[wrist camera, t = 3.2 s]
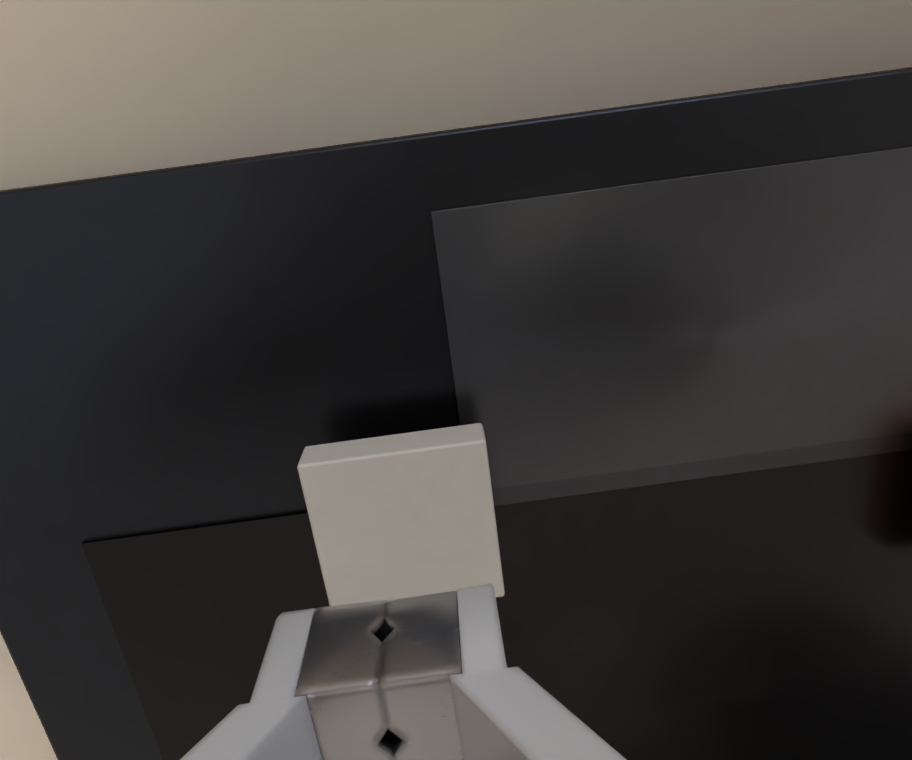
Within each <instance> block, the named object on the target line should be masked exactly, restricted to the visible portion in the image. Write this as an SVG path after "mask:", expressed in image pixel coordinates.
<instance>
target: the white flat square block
mask: <svg viewBox="0 0 912 760" xmlns="http://www.w3.org/2000/svg"><path fill="white" fill-rule="evenodd" d="M297 469H298V473H299V477H300V482H301V486H302V490H303V494H304V499H305V503H306V507H307V511H308V516H309V520H310V524H311V528H312V533H313V537H314V541H315V545H316V550H317V554H318V558H319V563H320V567H321V571H322V575H323V580H324V584H325V588H326V592H327V597H328V601H329V605H330V606H337V605H346V604H354V603H363V602H372V601H381V600H393V599H400V598H408V597H415V596H422V595H429V594H436V593H443V592H450V591H457V589H461V588H467V587H473V586H479V585H485V584H492V585H493V587H494V590H495V597H502V596H504V594H505V591H504V583H503V575H502V567H501V559H500V551H499V542H498V534H497V526H496V518H495V510H494V502H493V494H492V486H491V477H490V469H489V461H488V453H487V445H486V439H485V434H484V429H483V425H482V424H481V423H475V424H468V425H460V426H453V427H446V428H438V429H431V430H424V431H416V432H409V433H401V434H394V435H387V436H379V437H372V438H364V439H357V440H350V441H342V442H335V443H328V444H320V445H313V446H307V447H305V448H304V451H303V453H302V456H301V458H300V461H299V463H298V466H297Z"/></svg>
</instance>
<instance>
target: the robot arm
mask: <svg viewBox="0 0 912 760" xmlns="http://www.w3.org/2000/svg"><path fill="white" fill-rule="evenodd" d="M180 760H626V759H625V758H624V757H623V756H622V755H621V754H619V753H618V752H617V751H616V750H615V749H614V748H612V747H611V746H610V745H609V744H608V743H607V742H605V741H604V740H603V739H602V738H601V737H600V736H598V735H597V734H596V733H595V732H594V731H593V730H591V729H590V728H589V727H588V726H587V725H586V724H584V723H583V722H582V721H581V720H580V719H579V718H577V717H576V716H575V715H574V714H573V713H572V712H570V711H569V710H568V709H567V708H566V707H565V706H563V705H562V704H561V703H560V702H559V701H558V700H556V699H555V698H554V697H553V696H552V695H551V694H549V693H548V692H547V691H546V690H545V689H544V688H542V687H541V686H540V685H539V684H538V683H537V682H535V681H534V680H533V679H532V678H531V677H530V676H528V675H527V674H526V673H525V672H524V671H523V670H521V669H520V668H519V667H510V668H507V665H506V659H505V652H504V646H503V640H502V634H501V628H500V621H499V615H498V609H497V603H496V597H495V590H494V587H493V585H492V584H485V585H479V586H473V587H467V588H461V589H457V591H450V592H443V593H436V594H429V595H422V596H415V597H408V598H400V599H393V600H381V601H372V602H363V603H354V604H346V605H337V606H328V607H319V608H317V609H315V608H312V609H305V610H297V611H289V612H282V613H281V614H280V615H279V616H278V617H277V619H276V621H275V624H274V627H273V630H272V633H271V636H270V640H269V643H268V646H267V649H266V652H265V655H264V659H263V662H262V665H261V668H260V671H259V674H258V678H257V681H256V684H255V687H254V690H253V693H252V696H251V700H250V703H246V704H240V705H237V706H236V707H235V708H234V709H233V710H232V711H231V712H230V713H229V714H228V715H227V716H226V717H225V718H224V719H223V720H221V721H220V722H219V723H218V724H217V725H216V726H215V727H214V728H213V729H212V730H211V731H210V732H209V733H208V734H207V735H206V736H204V737H203V738H202V739H201V740H200V741H199V742H198V743H197V744H196V745H195V746H194V747H193V748H192V749H191V750H190V751H188V752H187V753H186V754H185V755H184V756H183V757H182V758H181V759H180Z"/></svg>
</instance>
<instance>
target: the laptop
mask: <svg viewBox="0 0 912 760" xmlns="http://www.w3.org/2000/svg"><path fill="white" fill-rule="evenodd" d="M475 423H481V424H482V425H483V429H484V434H485V439H486V445H487V453H488V461H489V469H490V477H491V486H492V494H493V502H494V510H495V518H496V526H497V534H498V542H499V551H500V559H501V567H502V575H503V583H504V591H505V594H504V596H502V597H496V603H497V609H498V615H499V621H500V628H501V634H502V640H503V646H504V652H505V659H506V665H507V668H510V667H519V668H520V669H521V670H523V671H524V672H525V673H526V674H527V675H528V676H530V677H531V678H532V679H533V680H534V681H535V682H537V683H538V684H539V685H540V686H541V687H542V688H544V689H545V690H546V691H547V692H548V693H549V694H551V695H552V696H553V697H554V698H555V699H556V700H558V701H559V702H560V703H561V704H562V705H563V706H565V707H566V708H567V709H568V710H569V711H570V712H572V713H573V714H574V715H575V716H576V717H577V718H579V719H580V720H581V721H582V722H583V723H584V724H586V725H587V726H588V727H589V728H590V729H591V730H593V731H594V732H595V733H596V734H597V735H598V736H600V737H601V738H602V739H603V740H604V741H605V742H607V743H608V744H609V745H610V746H611V747H612V748H614V749H615V750H616V751H617V752H618V753H619V754H621V755H622V756H623V757H624V758H625V759H626V760H912V67H909V68H902V69H895V70H887V71H880V72H873V73H865V74H858V75H850V76H843V77H836V78H828V79H821V80H814V81H806V82H799V83H791V84H784V85H777V86H769V87H762V88H755V89H747V90H740V91H732V92H725V93H718V94H710V95H703V96H696V97H688V98H681V99H673V100H666V101H659V102H651V103H644V104H637V105H629V106H622V107H614V108H607V109H600V110H592V111H585V112H578V113H570V114H563V115H555V116H548V117H541V118H533V119H526V120H519V121H511V122H504V123H496V124H489V125H482V126H474V127H467V128H460V129H452V130H445V131H437V132H430V133H423V134H415V135H408V136H401V137H393V138H386V139H378V140H371V141H364V142H356V143H349V144H342V145H334V146H327V147H319V148H312V149H305V150H297V151H290V152H283V153H275V154H268V155H260V156H253V157H246V158H238V159H231V160H224V161H216V162H209V163H201V164H194V165H187V166H179V167H172V168H165V169H157V170H150V171H142V172H135V173H128V174H120V175H113V176H106V177H98V178H91V179H83V180H76V181H69V182H61V183H54V184H47V185H39V186H32V187H24V188H17V189H10V190H2V191H0V632H1V634H2V636H3V639H4V641H5V643H6V645H7V647H8V650H9V652H10V654H11V656H12V659H13V661H14V663H15V665H16V667H17V670H18V672H19V674H20V676H21V679H22V681H23V683H24V685H25V687H26V690H27V692H28V694H29V696H30V699H31V701H32V703H33V705H34V707H35V710H36V712H37V714H38V716H39V719H40V721H41V723H42V725H43V728H44V730H45V732H46V734H47V736H48V739H49V741H50V743H51V745H52V748H53V750H54V752H55V754H56V756H57V759H58V760H180V759H181V758H182V757H183V756H184V755H185V754H186V753H187V752H188V751H190V750H191V749H192V748H193V747H194V746H195V745H196V744H197V743H198V742H199V741H200V740H201V739H202V738H203V737H204V736H206V735H207V734H208V733H209V732H210V731H211V730H212V729H213V728H214V727H215V726H216V725H217V724H218V723H219V722H220V721H221V720H223V719H224V718H225V717H226V716H227V715H228V714H229V713H230V712H231V711H232V710H233V709H234V708H235V707H236V706H237V705H240V704H246V703H250V700H251V696H252V693H253V690H254V687H255V684H256V681H257V678H258V674H259V671H260V668H261V665H262V662H263V659H264V655H265V652H266V649H267V646H268V643H269V640H270V636H271V633H272V630H273V627H274V624H275V621H276V619H277V617H278V616H279V615H280V614H281V613H282V612H289V611H297V610H305V609H312V608H315V609H317V608H319V607H328V606H330V605H329V601H328V597H327V592H326V588H325V584H324V580H323V575H322V571H321V567H320V563H319V558H318V554H317V550H316V545H315V541H314V537H313V533H312V528H311V524H310V520H309V516H308V511H307V507H306V503H305V499H304V494H303V490H302V486H301V482H300V477H299V473H298V469H297V466H298V463H299V461H300V458H301V456H302V453H303V451H304V448H305V447H307V446H313V445H320V444H328V443H335V442H342V441H350V440H357V439H364V438H372V437H379V436H387V435H394V434H401V433H409V432H416V431H424V430H431V429H438V428H446V427H453V426H460V425H468V424H475Z"/></svg>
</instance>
